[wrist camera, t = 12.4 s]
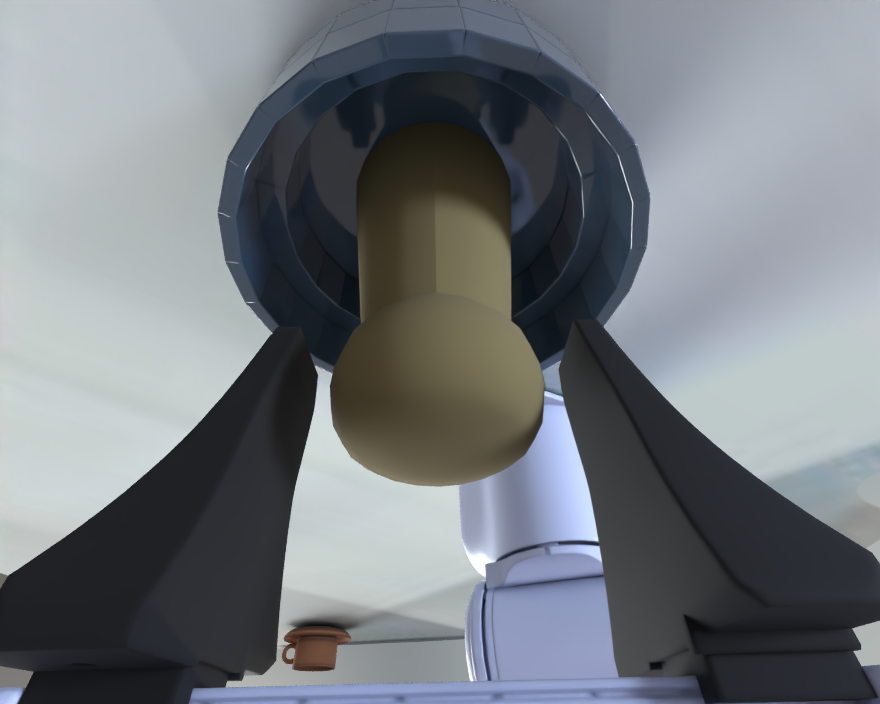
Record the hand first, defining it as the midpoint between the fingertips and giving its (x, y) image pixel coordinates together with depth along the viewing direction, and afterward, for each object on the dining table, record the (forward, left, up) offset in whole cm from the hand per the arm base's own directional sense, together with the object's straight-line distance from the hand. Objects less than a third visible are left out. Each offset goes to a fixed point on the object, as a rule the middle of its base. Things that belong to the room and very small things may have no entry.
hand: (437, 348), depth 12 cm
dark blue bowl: (0, 0, -8) cm, 8 cm away
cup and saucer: (-86, -21, -8) cm, 89 cm away
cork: (0, 0, -8) cm, 8 cm away
